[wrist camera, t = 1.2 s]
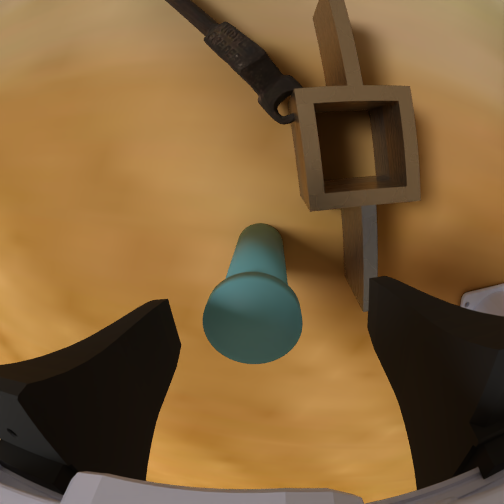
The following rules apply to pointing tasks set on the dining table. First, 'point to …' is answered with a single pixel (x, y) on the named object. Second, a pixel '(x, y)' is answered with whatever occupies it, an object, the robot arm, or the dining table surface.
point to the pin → (254, 302)
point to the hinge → (384, 142)
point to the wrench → (243, 59)
